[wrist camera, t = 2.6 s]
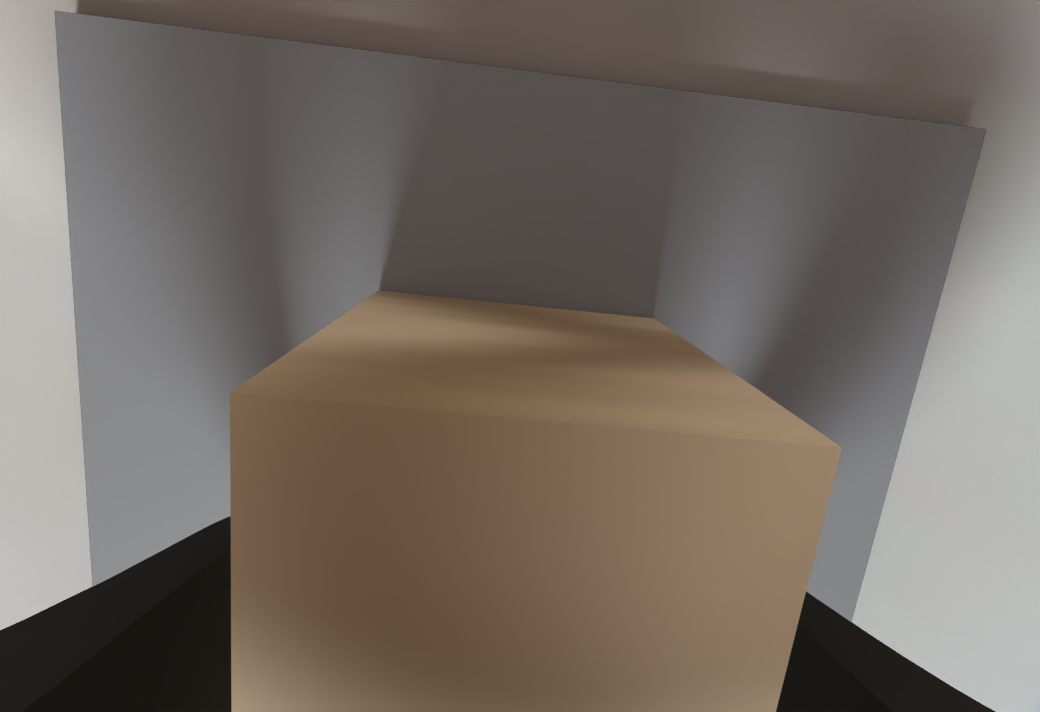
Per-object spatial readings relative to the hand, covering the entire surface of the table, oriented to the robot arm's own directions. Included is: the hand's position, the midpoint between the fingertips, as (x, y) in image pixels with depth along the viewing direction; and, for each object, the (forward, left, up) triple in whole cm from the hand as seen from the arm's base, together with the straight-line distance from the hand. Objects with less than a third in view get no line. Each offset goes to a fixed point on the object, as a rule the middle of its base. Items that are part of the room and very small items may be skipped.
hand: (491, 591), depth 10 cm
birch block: (0, 0, -1) cm, 1 cm away
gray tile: (0, 0, -2) cm, 2 cm away
